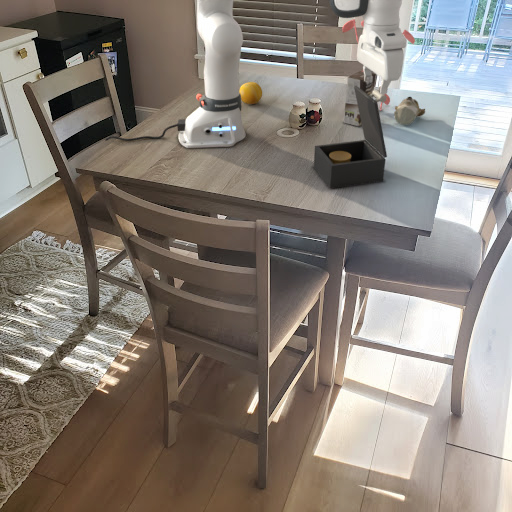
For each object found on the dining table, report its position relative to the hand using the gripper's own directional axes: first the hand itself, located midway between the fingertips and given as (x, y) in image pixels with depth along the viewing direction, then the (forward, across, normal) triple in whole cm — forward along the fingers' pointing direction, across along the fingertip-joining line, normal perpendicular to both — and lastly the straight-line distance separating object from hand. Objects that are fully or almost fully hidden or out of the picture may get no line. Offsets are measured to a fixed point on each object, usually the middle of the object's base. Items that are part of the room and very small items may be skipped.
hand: (375, 87), depth 150 cm
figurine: (+26, -53, +25) cm, 64 cm away
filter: (+24, -2, -8) cm, 25 cm away
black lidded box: (+25, 0, -6) cm, 26 cm away
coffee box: (+25, -38, +13) cm, 47 cm away
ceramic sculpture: (+26, -34, +30) cm, 52 cm away
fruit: (+25, -66, -19) cm, 73 cm away
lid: (+10, 0, -1) cm, 10 cm away
